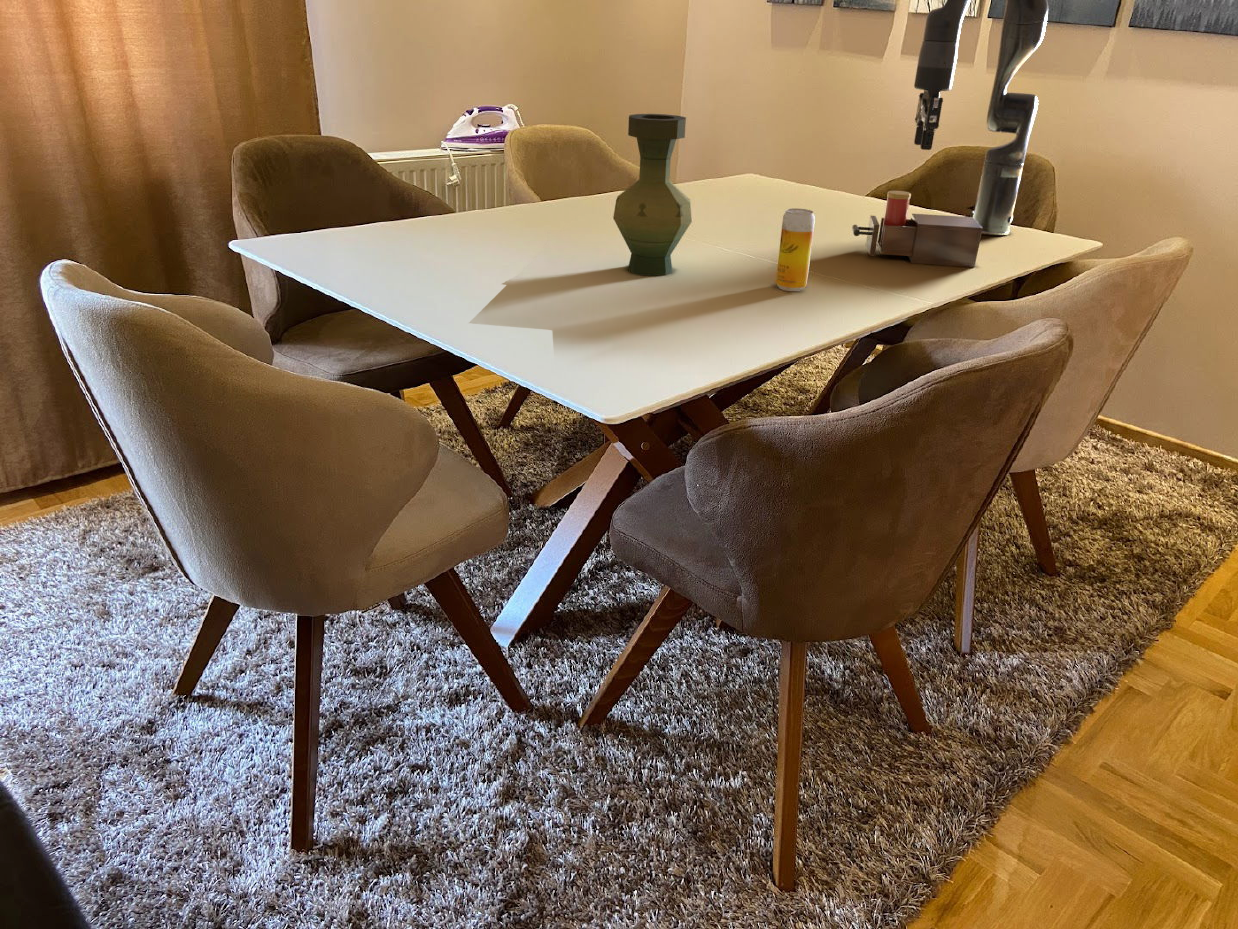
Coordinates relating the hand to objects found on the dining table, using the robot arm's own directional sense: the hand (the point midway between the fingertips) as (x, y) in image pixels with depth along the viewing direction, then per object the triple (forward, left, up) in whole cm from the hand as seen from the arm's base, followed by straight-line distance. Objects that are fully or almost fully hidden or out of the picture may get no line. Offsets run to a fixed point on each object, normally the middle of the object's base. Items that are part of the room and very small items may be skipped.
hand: (922, 146), depth 198 cm
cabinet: (-1, +8, -24) cm, 25 cm away
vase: (+27, -54, -24) cm, 65 cm away
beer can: (+33, -25, -24) cm, 48 cm away
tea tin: (-1, -3, -22) cm, 22 cm away
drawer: (-1, -4, -23) cm, 23 cm away
